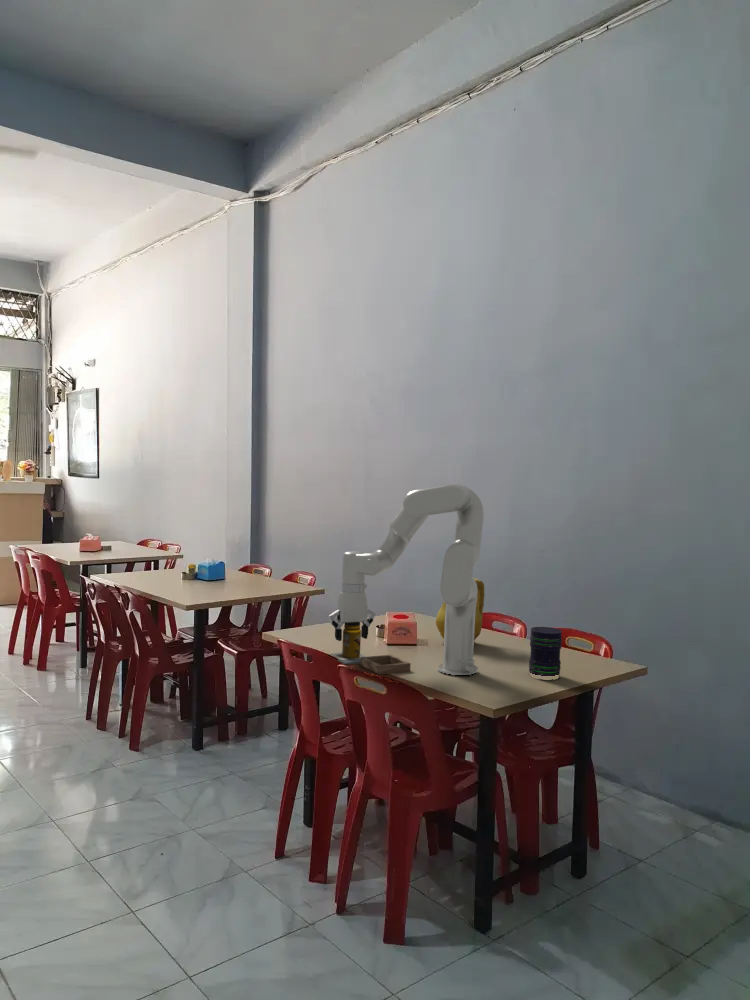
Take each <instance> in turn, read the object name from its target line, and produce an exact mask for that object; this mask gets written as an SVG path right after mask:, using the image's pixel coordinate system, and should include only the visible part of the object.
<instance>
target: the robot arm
mask: <svg viewBox="0 0 750 1000" xmlns="http://www.w3.org/2000/svg"><path fill="white" fill-rule="evenodd" d="M402 502H403V503H402V507H401V509H400V510H398V512H397V514H396V515H395V517H394V518H393V519H392V520H391V522H390V523H389V529H388V530H389V531H388V534H387V536H386V538H385V539H384V540H383V542H382V544H381V545H380V546H379V547H378V549H377V550H376V551H373V552H370V553H364V552H362V551H357V550H356V551H355V550H353V551H352V550H349V551H345V552H344V553H343V555H342V568H341V569H342V571H341V573H342V575H341V591H339V593H338V596H337V600H336V601H337V602H336V607H335V611H333V612H331V614H329V615H328V616H327V617H328V620H329V622H330V623H329V624H330V625H332V626H333V628H334V638H335V640H336V641H339V642H342V641H343V630H342V626H343V625H345V623H354V622H360V623H361V624H362V625H361V626H360V628H361V629H360V630H361V638H362V639H366V640H367V639H368V636H369V628H370V626H371V625H372V623H373V621H374V619H375V618H376V617H375V616H376V614H377V613H376V612H374V611H372V610H370V609H369V608H368V599H367V593H366V591H365V589H368V588H369V587H368V584H366V582H365V580H366V579H365V578H366V577H365V576H371V577H374V576H375V577H376V576H379V575H381V574H384V573H386V572H388V571H389V570H390V569H391V568H392V567H393V566H394V565H395V563H396V562H397V561H398V559H399V558H400V557H401V555H402V554H403V552H404V551H405V550H406V549H407V546H408V545H409V543H410V542H411V539H412V538H413V537H414V535H416V533H417V531H419V529H420V528H421V526H422V525H423V524H424V523H425V522H426V520H427V519H428V518H429V516H433V515H439V514H447V513H452V512H453V513H454V512H456V514H457V519H456V523H455V530H454V531H455V532H454V538H453V543H451V544H450V545H449V546H448V547H447V549H446V551H445V553H444V556H443V562H442V571H441V577H440V578H441V579H440V588H439V593H440V597H441V599H442V601H443V602H445V603H446V612H445V631H444V639H443V642H444V645H443V654H442V655H443V659H442V660H443V661H442V664H439V665H438V666H437V670H438V672H440V673H441V672H442V674H444V673H446V675H448V674H451V675H450V676H455V675H470V674H474V673H476V672H477V673H478V669H479V667H478V666H477V665H475V659H474V648H475V647H474V645H475V644H474V642H475V641H474V627H475V610H476V601H477V584H476V582H475V580H474V578H475V577H473V575H474V574H473V573H474V568H475V567H476V566H477V564H478V563H479V561H480V557H481V556H480V554H481V544H482V538H483V537H482V536H483V525H484V506H483V504H482V501H481V498H480V497H479V496H478V494H477V493H476V492H474V490H472V489H471V488H469V487H467V486H466V485H462V484H447V485H441V486H435V487H429V488H422V489H413V490H411V491H409V492H408V493H407V494H406V495H405V497H404V498H403V501H402ZM368 615H369V617H368ZM477 673H476V674H477ZM474 675H475V674H474ZM470 676H471V675H470Z"/></svg>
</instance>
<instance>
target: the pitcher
mask: <svg viewBox="0 0 750 1000" xmlns="http://www.w3.org/2000/svg"><path fill="white" fill-rule="evenodd" d="M473 578H474V580H475V582H476V584H477V601H476V610H475V627H474V645H476V642H475V641H476V639H477V638H478V637H480V634H481V632H482V627H483V618H484V613H483V611H484V605H485V604H484V603H485V596H486V595H485V584H484V582H483V581H482V580H480V579H478V578H476V577H473ZM445 612H446V603H445V602H444V601H443V603H442V604H441V606H440V608H439V610H438V612H437V614H436V618H435V625H436V627H437V630H438V632H439V634H440V637H441V638H442V639H443V640H444V631H445Z"/></svg>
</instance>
